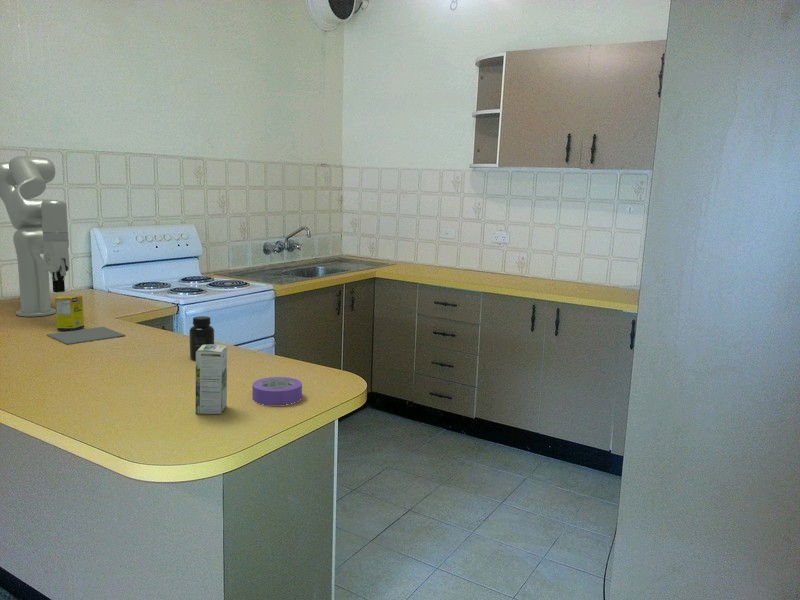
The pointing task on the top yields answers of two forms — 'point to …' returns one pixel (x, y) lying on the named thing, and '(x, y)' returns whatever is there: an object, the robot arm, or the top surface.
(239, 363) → the top surface
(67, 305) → the supplement box
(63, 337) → the mat
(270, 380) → the masking tape
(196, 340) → the supplement bottle
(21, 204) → the robot arm
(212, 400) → the syrup box
